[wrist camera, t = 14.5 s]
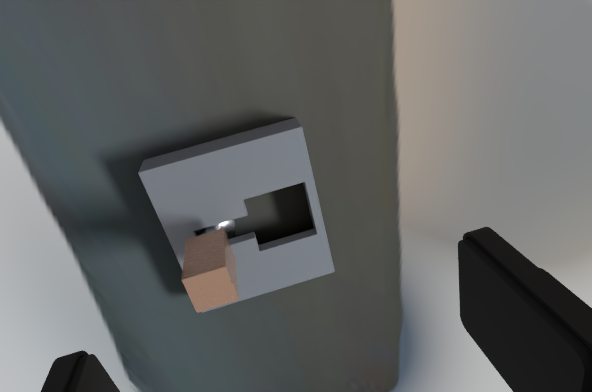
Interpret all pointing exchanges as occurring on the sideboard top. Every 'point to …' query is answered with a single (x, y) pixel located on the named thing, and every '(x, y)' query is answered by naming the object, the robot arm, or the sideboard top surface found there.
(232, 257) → the keyhole peg
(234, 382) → the sideboard top surface
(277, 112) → the sideboard top surface
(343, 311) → the sideboard top surface
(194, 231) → the keyhole board
